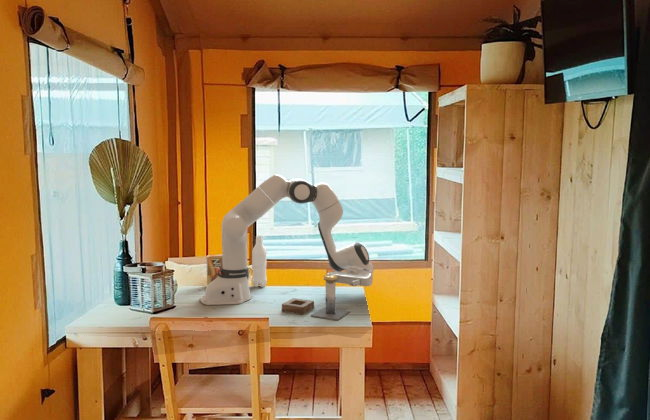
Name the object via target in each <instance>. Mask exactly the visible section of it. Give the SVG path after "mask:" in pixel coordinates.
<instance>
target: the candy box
mask: <svg viewBox="0 0 650 420" xmlns="http://www.w3.org/2000/svg"><path fill="white" fill-rule="evenodd" d="M222 267H223V263H222V254H212V255H211V254H209V255H206V286H207V285H208V284H209V283H211V282H212V281H213V280H215V279H216V278H217V277H218V273H217V272H216V269H217V268H220V269H221V268H222Z"/></svg>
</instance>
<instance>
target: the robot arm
mask: <svg viewBox="0 0 650 420" xmlns="http://www.w3.org/2000/svg"><path fill="white" fill-rule="evenodd" d="M284 198H288V199H290V200H291V201H292V202H294V203H295V204H300V205H301V204H302V205H303V204H307V203H311V204H312V205H313V206H314V208H315V210H316V212H317V214H318V217H319V222H318V223H317V228H318V232H319V235H320V238H321V242H322V244H323V247H324V249H325V253H326V256H327V260H328V264H329V267H330V268H331V269H332V270H333V271H330V272H327V273H326V275H336V276H337V280H336V281H335V284H343V285H345V284H346V285H349V286H350V287H351V286H352V287H356V286H360V287H361V286H362V287H370V286H372V285H373V280H374V279H373V278H374V277H373V276H374V275H373V273H374V265H373V263H372V262H371V261H370V255H369V252H368V250H367V248H366V247H365V246H364V245H363V244H362V243H360V242H356V241H355V242H353V243H350V244H349V245H346V246H344V247H342V248H339V249H338V248H337V247H336V244H335V241H334V239H333V235H332V230H333V228H334V227H335V226H336V225H337V224H338V223H339V222H340V220H341V219H342V217H343V214H344V209H343V206H342V204H341V202H340V200H339V198H338V196H337V195H336V193H335V191H334V190H333V189H332V188H331V186H330V185H329V184H328V183H326V182H318V183H316V184H312V183H311V182H310V181H308V180H307V179H304V178H301V177H294V178H290V179H286V178H285V177H284V176H282V175H280V174H273V175H272V176H270V177H269V178H267V179H266V180H264V181H263V182H262V183H261V184H259V185H258V186H257V187H256V188H255V189H254V190H253V191H251V193H249V194H248V195H247V196H246V197H245V198H244V199H243V200H241V201H240V202H239V203H238V204H236V205H235V206H234V207H233V208H232V209H230V210H229V211H228V212H227V213H226V214H224V216H223V218H222V222H221V248H222V249H221V250H222V254H221V255H222V263H223V267H222V268H221V269H220V268H217V269H216V272H217V273H218V277H217V278H216V279H215V280H213V281H212V282H211V283H209V284H208V285H207V284H206V288H205V291H204V292H205V294H203V295H201V296H200V297H199V298H200V303H202V304H203V305H206V306H211V305H212V306H215V305H216V306H217V305H218V306H219V305H220V306H221V305H240V304H243V303H244V302H246V301H249V300H251V299H252V295H251V294H252V293H251V292H250V291H251V290H250V285H249V277H250V271H249V270H250V269H249V267H248V228H249V227H250V226H251V225H253V224H254V223H255V222H257V221H258V220H259V219H261V218H262V217H264V215H266V214H267V213H268V212H269V211H270V210H271V209H272V208H273V207H274V206H275V205H276V204H278V202H279V201H281V200H282V199H284Z"/></svg>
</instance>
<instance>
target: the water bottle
mask: <svg viewBox="0 0 650 420" xmlns="http://www.w3.org/2000/svg"><path fill="white" fill-rule="evenodd" d="M251 251H252V252H251V256H252V257H251V266H252V278H251V281H252V285H253V286H254V287H255V288H259V286H260V288H265V286H266V285H267V282H268V278H267V265H268V264H267V253H268V252H267V250H266V247H265V246H264V243H263V236H262V235H256V236H255V244H254V246H253V248H252V250H251Z"/></svg>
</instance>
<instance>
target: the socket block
mask: <svg viewBox="0 0 650 420" xmlns="http://www.w3.org/2000/svg"><path fill="white" fill-rule="evenodd" d="M314 308H315V300H311V299H309V300H308V299H302V298H295V297H294V298H291V299H289V300H287V301H285V302H283V303H281V312H285V313H292V314H299V315H305V314H306V313H308V312H309V311H311V310H314Z"/></svg>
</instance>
